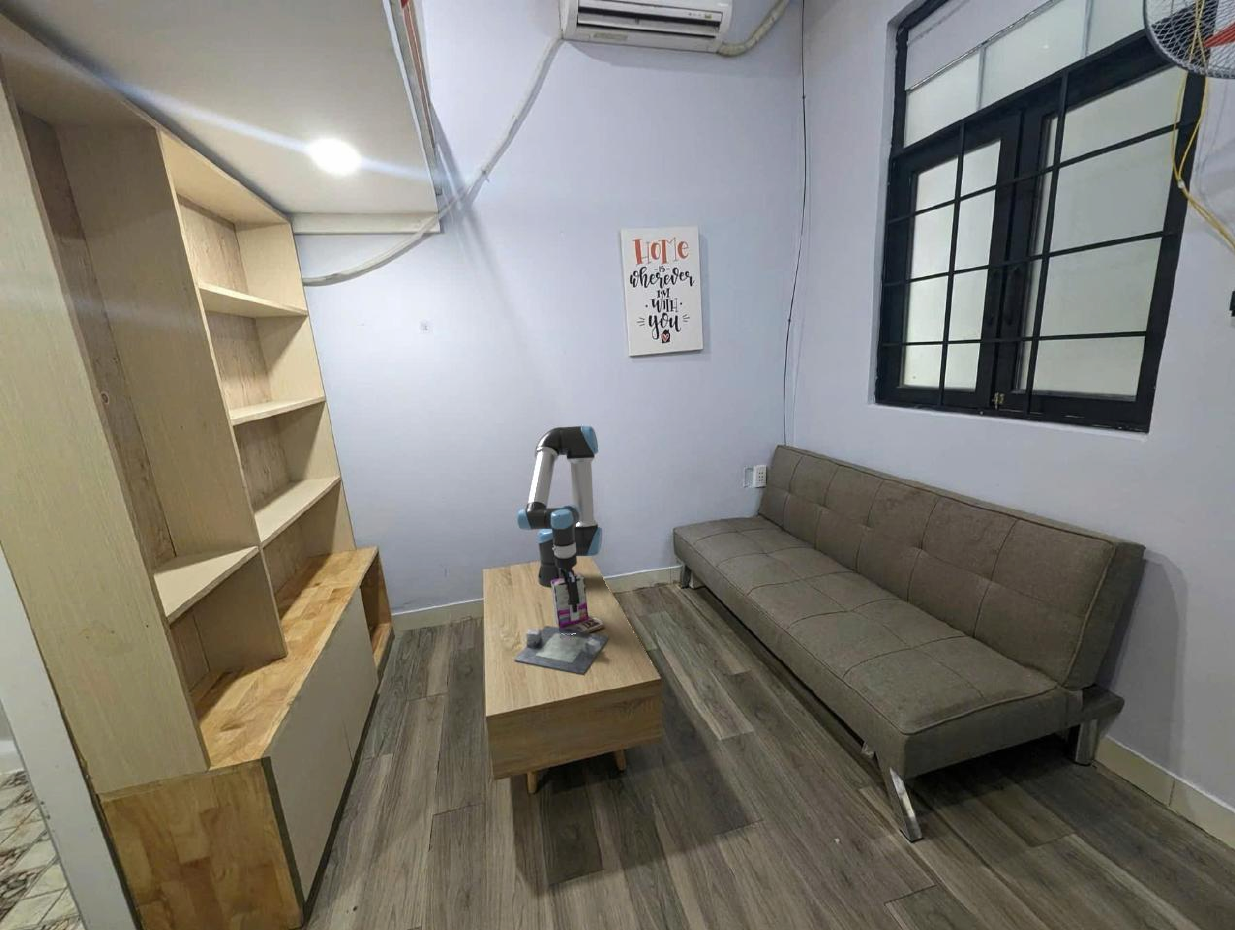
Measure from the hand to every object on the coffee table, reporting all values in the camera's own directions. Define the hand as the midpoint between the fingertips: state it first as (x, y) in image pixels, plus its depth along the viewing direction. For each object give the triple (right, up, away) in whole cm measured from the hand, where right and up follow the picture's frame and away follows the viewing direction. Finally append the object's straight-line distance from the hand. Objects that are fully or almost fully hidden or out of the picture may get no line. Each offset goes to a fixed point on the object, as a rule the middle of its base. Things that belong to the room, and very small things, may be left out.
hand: (571, 613), depth 171 cm
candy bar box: (0, -3, +1) cm, 3 cm away
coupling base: (-1, -6, -16) cm, 17 cm away
